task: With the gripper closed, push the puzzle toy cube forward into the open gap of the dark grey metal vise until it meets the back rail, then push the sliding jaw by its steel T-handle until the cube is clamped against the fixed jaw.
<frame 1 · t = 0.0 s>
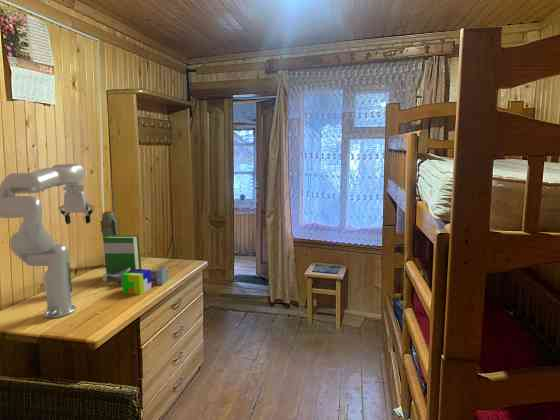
hand: (78, 223, 192), 37 cm above the table, tool pointing down, fingers open, 9 cm apart
puzzle toy: (137, 291, 200), on the table
canister: (61, 294, 197), on the table
vise body: (162, 282, 212), on the table
sliding jaw: (116, 276, 211), point 4 cm above the table, slide at 0.0 cm
hardback book: (124, 277, 224), on the table
stone tower: (113, 265, 249), on the table
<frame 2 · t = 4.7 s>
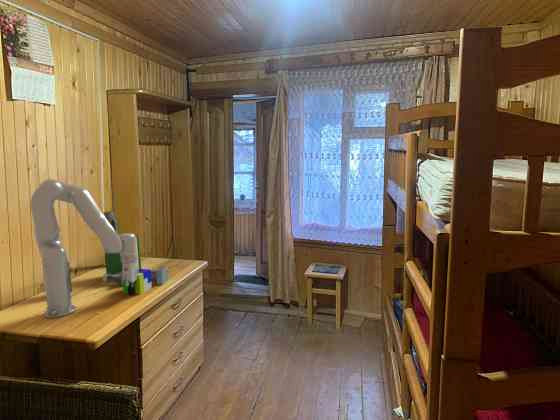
hand: (131, 294, 191), 1 cm above the table, tool pointing down, fingers closed
puzzle toy: (137, 290, 200), on the table, touching gripper
everything else where it was.
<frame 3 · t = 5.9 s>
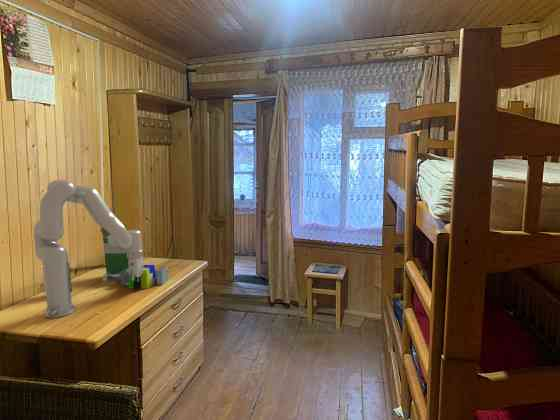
hand: (137, 288, 199), 1 cm above the table, tool pointing down, fingers closed
puzzle toy: (143, 285, 208), on the table, touching gripper
everything else where it was.
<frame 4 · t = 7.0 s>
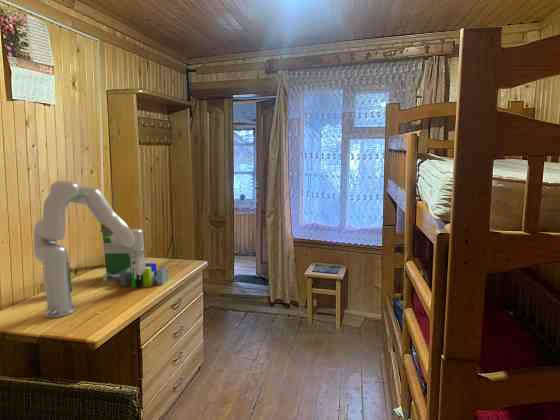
hand: (139, 286, 202), 1 cm above the table, tool pointing down, fingers closed
puzzle toy: (144, 283, 211), on the table, touching gripper
everything else where it was.
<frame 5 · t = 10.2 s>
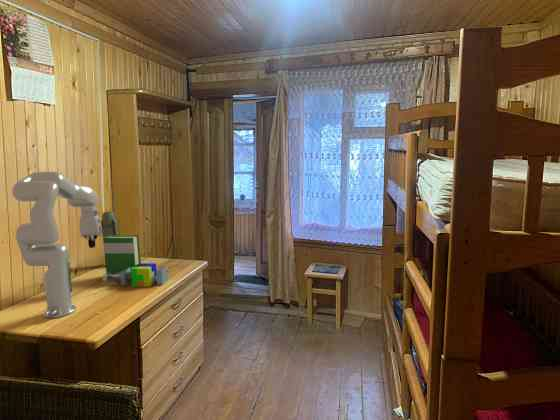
hand: (92, 247, 208), 21 cm above the table, tool pointing down, fingers closed
puzzle toy: (144, 283, 211), on the table
everything else where it was.
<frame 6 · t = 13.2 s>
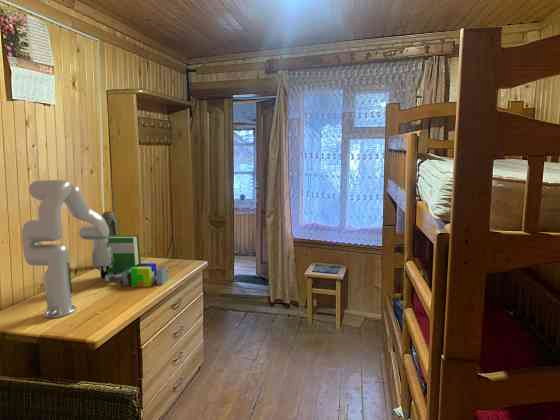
hand: (104, 277, 210), 4 cm above the table, tool pointing down, fingers closed
sliding jaw: (119, 276, 211), point 4 cm above the table, slide at 1.3 cm, touching gripper
everything else where it was.
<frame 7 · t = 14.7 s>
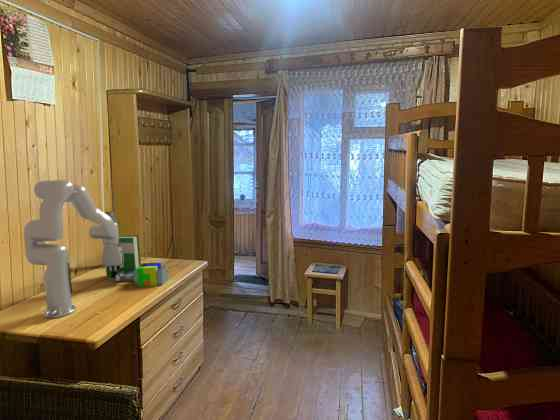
hand: (114, 277, 211), 4 cm above the table, tool pointing down, fingers closed
puzzle toy: (150, 283, 211), on the table, touching sliding jaw, vise body
sliding jaw: (129, 276, 211), point 4 cm above the table, slide at 7.0 cm, touching gripper, puzzle toy
everything else where it was.
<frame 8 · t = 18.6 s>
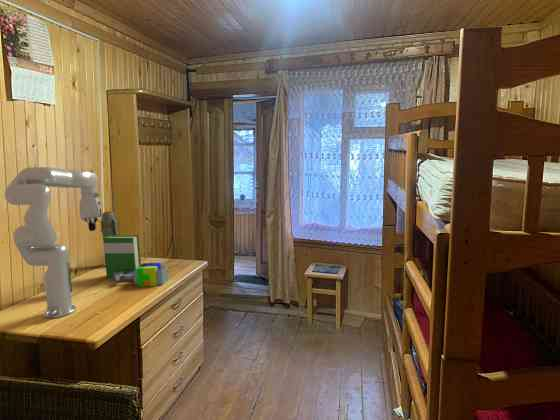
hand: (92, 230, 203), 31 cm above the table, tool pointing down, fingers closed
puzzle toy: (150, 283, 211), on the table
sliding jaw: (129, 276, 211), point 4 cm above the table, slide at 6.9 cm
everything else where it was.
at the end: puzzle toy inside the target area (0.8 cm from its centre), on the table; sliding jaw slide at 6.9 cm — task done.
